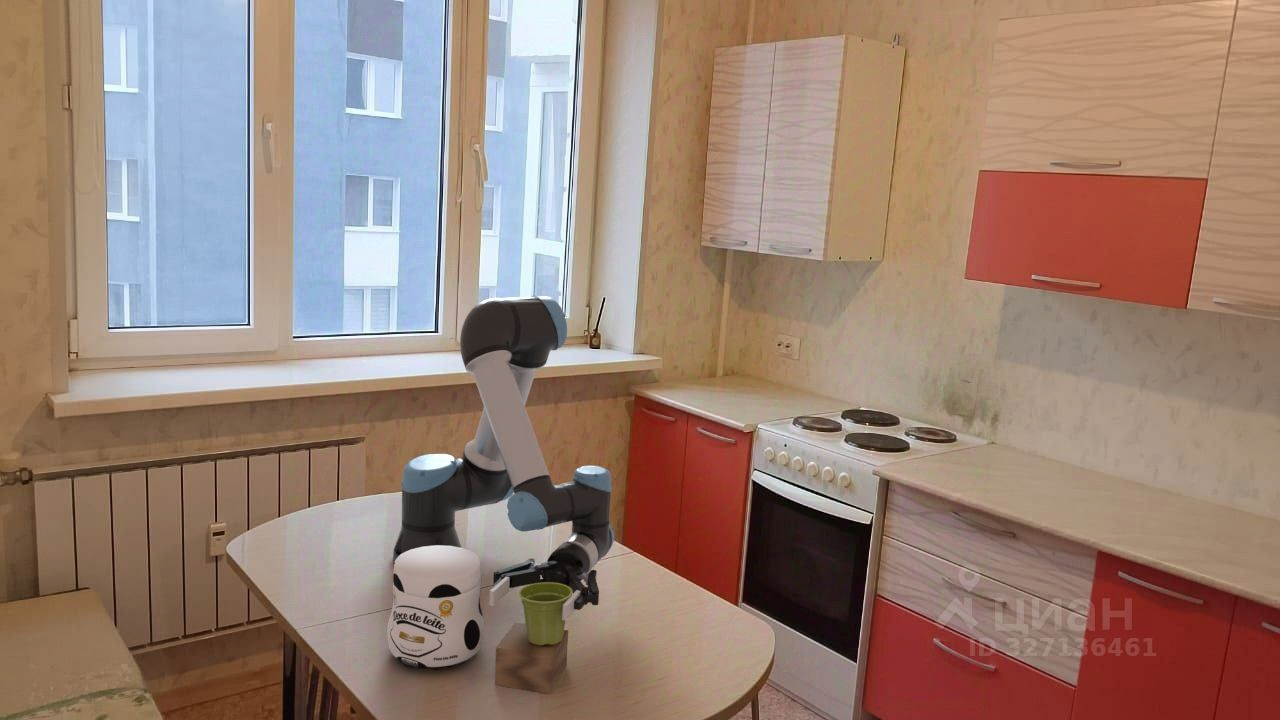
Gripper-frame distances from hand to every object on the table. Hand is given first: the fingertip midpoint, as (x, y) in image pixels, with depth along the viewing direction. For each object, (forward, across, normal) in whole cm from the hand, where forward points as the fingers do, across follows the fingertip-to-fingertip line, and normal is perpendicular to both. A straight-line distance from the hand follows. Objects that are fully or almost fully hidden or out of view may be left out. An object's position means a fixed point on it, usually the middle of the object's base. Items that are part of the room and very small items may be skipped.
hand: (527, 605), depth 166 cm
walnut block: (-3, 0, -14) cm, 15 cm away
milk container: (-3, +19, -15) cm, 24 cm away
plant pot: (-3, -2, -8) cm, 8 cm away
